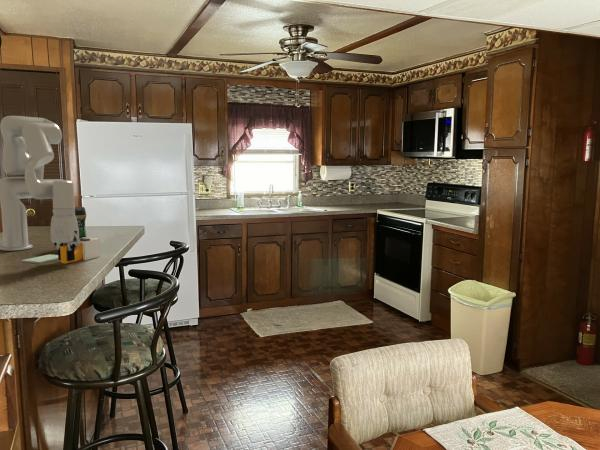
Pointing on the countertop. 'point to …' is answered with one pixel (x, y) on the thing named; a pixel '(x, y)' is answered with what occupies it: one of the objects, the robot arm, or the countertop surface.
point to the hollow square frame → (90, 248)
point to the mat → (42, 259)
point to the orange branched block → (77, 253)
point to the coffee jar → (80, 221)
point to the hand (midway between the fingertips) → (66, 259)
